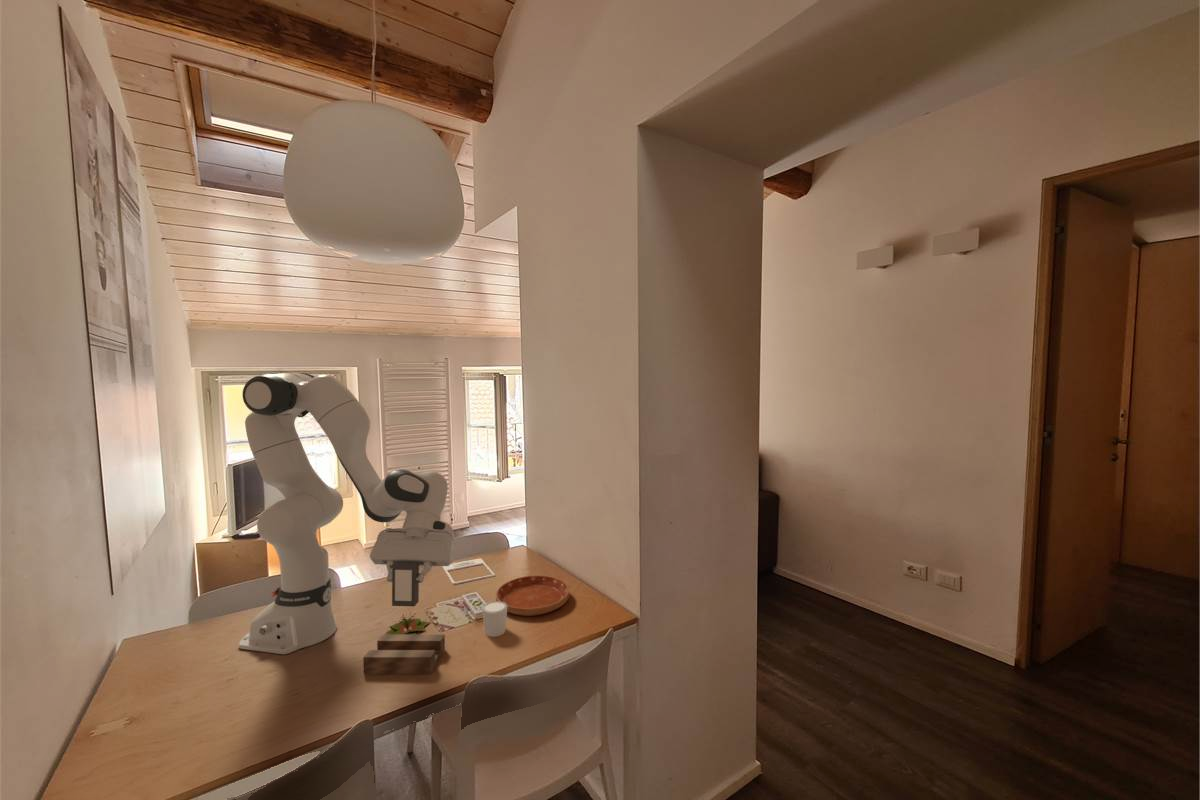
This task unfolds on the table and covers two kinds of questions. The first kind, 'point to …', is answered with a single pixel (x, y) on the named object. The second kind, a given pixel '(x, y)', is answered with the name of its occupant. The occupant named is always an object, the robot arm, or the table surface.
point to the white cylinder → (494, 618)
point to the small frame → (405, 584)
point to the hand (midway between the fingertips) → (404, 581)
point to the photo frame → (464, 565)
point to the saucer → (533, 595)
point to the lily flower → (407, 623)
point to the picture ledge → (404, 654)
